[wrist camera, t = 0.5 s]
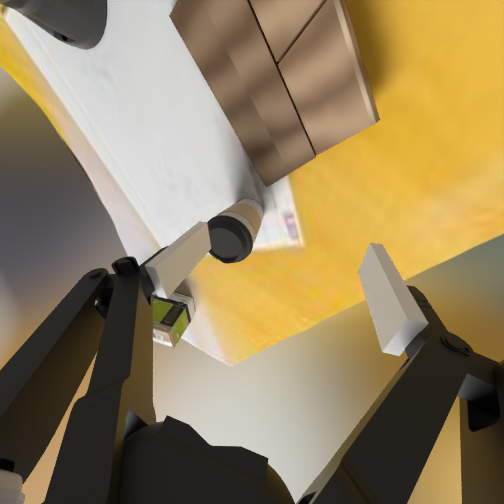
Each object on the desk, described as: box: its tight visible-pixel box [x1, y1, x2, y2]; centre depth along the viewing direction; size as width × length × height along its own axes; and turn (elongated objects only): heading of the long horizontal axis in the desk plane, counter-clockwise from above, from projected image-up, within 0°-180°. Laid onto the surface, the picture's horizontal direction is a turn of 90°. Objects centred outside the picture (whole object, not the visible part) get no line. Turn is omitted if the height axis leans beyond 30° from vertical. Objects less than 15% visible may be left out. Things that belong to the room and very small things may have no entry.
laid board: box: [169, 0, 316, 187], centre depth 29 cm, size 28×10×1 cm, turn 34°
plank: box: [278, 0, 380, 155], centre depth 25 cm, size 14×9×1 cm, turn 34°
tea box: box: [152, 291, 195, 348], centre depth 64 cm, size 15×10×15 cm, turn 86°
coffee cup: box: [207, 199, 263, 263], centre depth 35 cm, size 9×9×15 cm
